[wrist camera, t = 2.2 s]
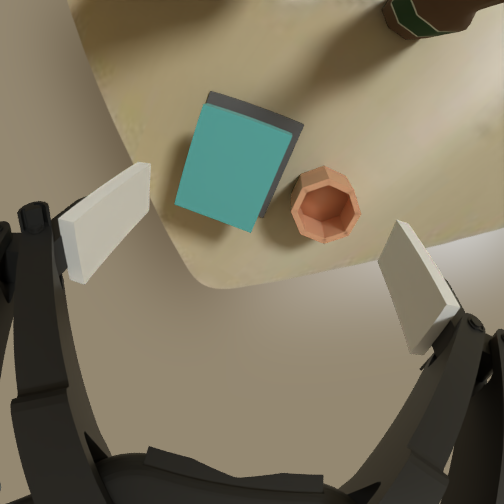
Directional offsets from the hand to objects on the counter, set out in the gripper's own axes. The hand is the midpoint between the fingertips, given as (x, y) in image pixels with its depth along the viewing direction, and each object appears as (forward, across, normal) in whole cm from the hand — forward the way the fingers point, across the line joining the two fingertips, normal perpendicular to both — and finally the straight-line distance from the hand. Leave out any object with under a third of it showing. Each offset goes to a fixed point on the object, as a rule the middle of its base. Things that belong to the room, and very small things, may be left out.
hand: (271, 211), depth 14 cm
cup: (+29, +8, -9) cm, 31 cm away
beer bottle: (+29, +14, +23) cm, 39 cm away
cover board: (+23, -5, -5) cm, 24 cm away
